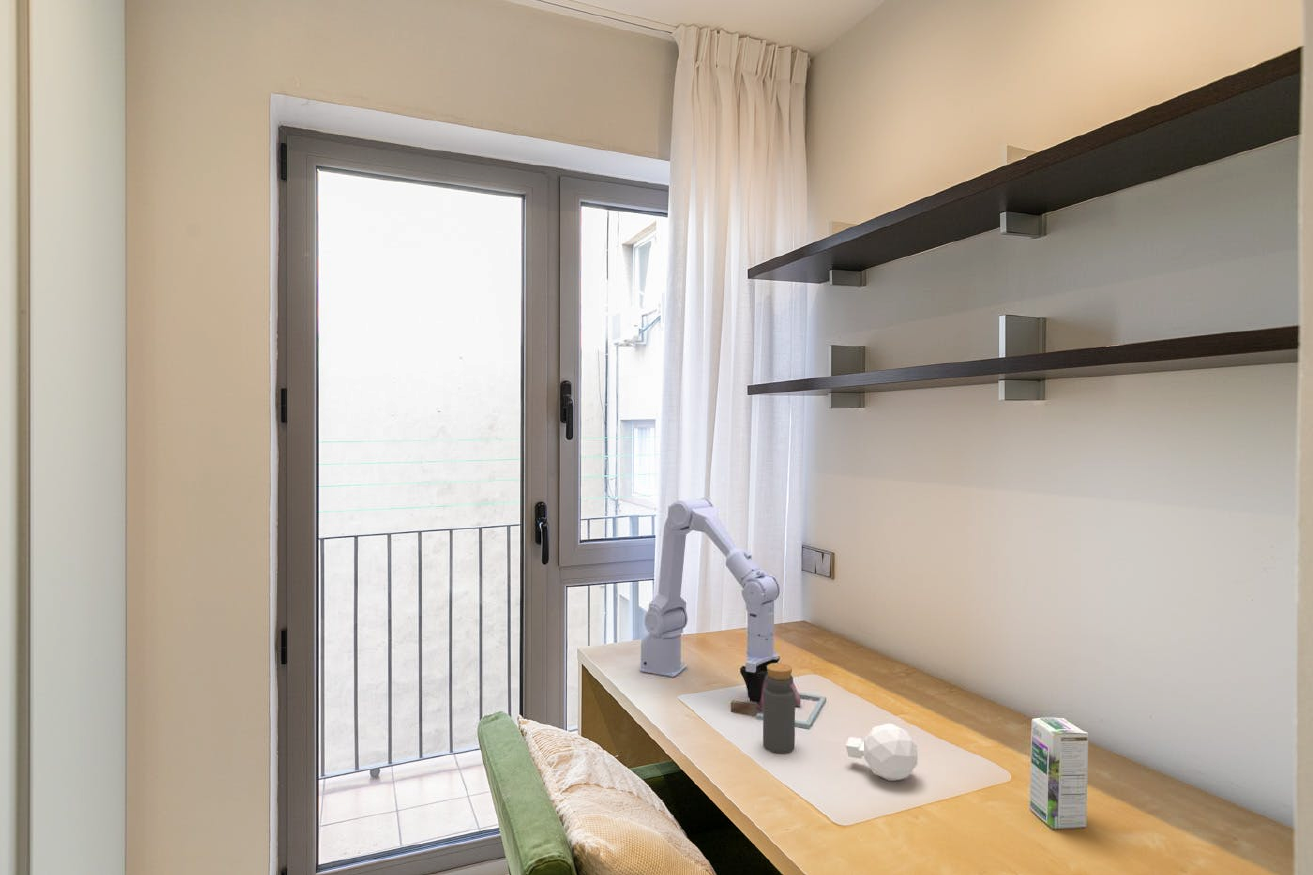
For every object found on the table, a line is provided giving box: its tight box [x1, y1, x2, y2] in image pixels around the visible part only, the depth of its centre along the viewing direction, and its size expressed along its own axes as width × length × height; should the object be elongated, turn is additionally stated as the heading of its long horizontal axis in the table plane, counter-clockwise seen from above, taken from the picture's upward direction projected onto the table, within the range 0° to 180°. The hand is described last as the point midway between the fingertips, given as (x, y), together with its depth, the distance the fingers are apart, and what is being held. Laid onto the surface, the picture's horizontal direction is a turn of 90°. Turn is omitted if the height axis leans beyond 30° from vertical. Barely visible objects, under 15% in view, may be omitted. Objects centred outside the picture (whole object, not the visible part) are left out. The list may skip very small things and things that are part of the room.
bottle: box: [762, 662, 796, 754], centre depth 130 cm, size 6×6×15 cm
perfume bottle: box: [845, 722, 919, 782], centre depth 120 cm, size 9×9×12 cm
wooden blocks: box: [730, 699, 757, 716], centre depth 151 cm, size 5×13×2 cm, turn 155°
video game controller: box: [755, 677, 802, 711], centre depth 150 cm, size 10×5×7 cm, turn 105°
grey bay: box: [755, 691, 827, 730], centre depth 147 cm, size 11×16×1 cm
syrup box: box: [1029, 716, 1089, 830], centre depth 106 cm, size 6×6×14 cm
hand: (760, 695), depth 150 cm, fingers open, 7 cm apart
